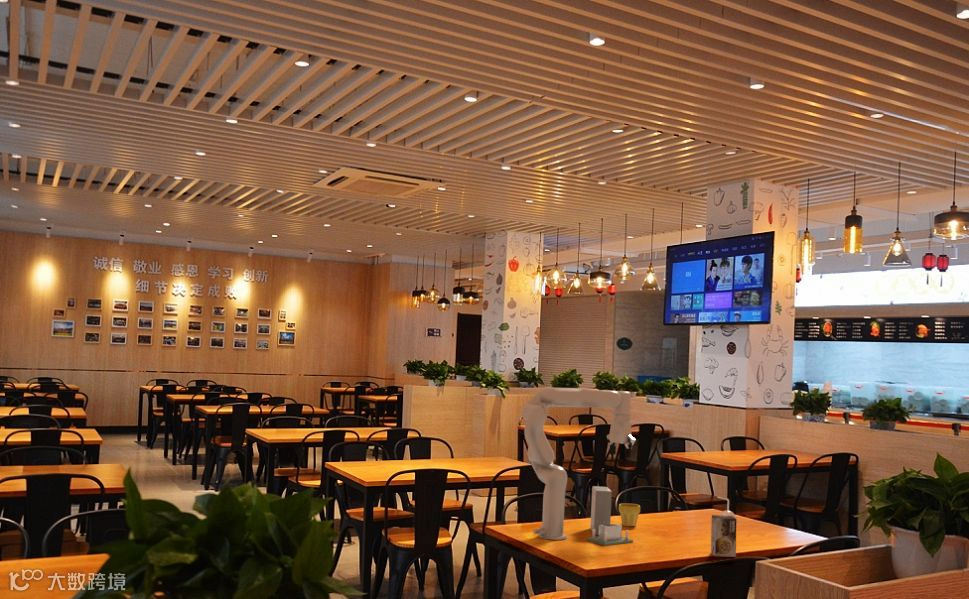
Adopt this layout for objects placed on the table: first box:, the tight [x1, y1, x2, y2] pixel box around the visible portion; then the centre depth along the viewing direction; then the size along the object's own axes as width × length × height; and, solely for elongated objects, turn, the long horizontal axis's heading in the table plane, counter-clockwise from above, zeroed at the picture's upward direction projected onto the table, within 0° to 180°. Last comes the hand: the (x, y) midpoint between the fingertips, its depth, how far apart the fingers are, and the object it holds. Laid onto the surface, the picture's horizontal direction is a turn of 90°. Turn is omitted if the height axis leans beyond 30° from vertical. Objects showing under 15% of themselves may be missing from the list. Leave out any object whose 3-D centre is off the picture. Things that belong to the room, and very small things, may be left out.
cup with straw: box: [716, 495, 738, 520], centre depth 391 cm, size 8×9×20 cm
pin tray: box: [587, 529, 634, 547], centre depth 377 cm, size 17×11×5 cm, turn 126°
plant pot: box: [618, 503, 641, 527], centre depth 416 cm, size 10×10×10 cm
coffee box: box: [710, 514, 738, 558], centre depth 362 cm, size 9×6×16 cm
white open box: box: [597, 523, 623, 541], centre depth 377 cm, size 10×4×6 cm, turn 123°
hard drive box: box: [590, 485, 613, 536], centre depth 397 cm, size 16×8×20 cm, turn 179°
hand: (620, 455), depth 391 cm, fingers open, 9 cm apart
